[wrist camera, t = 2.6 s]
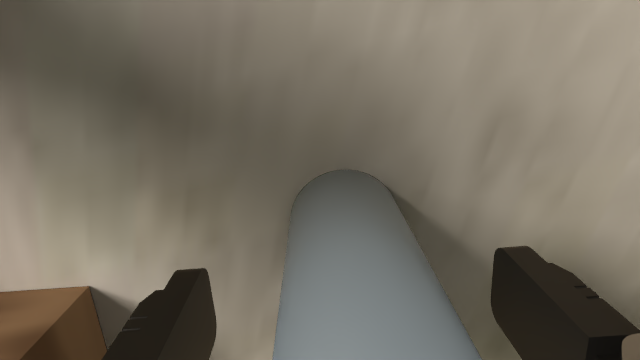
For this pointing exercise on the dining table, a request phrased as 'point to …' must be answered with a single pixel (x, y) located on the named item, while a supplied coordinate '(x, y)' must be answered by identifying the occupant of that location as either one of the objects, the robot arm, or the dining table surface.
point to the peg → (361, 281)
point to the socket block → (50, 325)
